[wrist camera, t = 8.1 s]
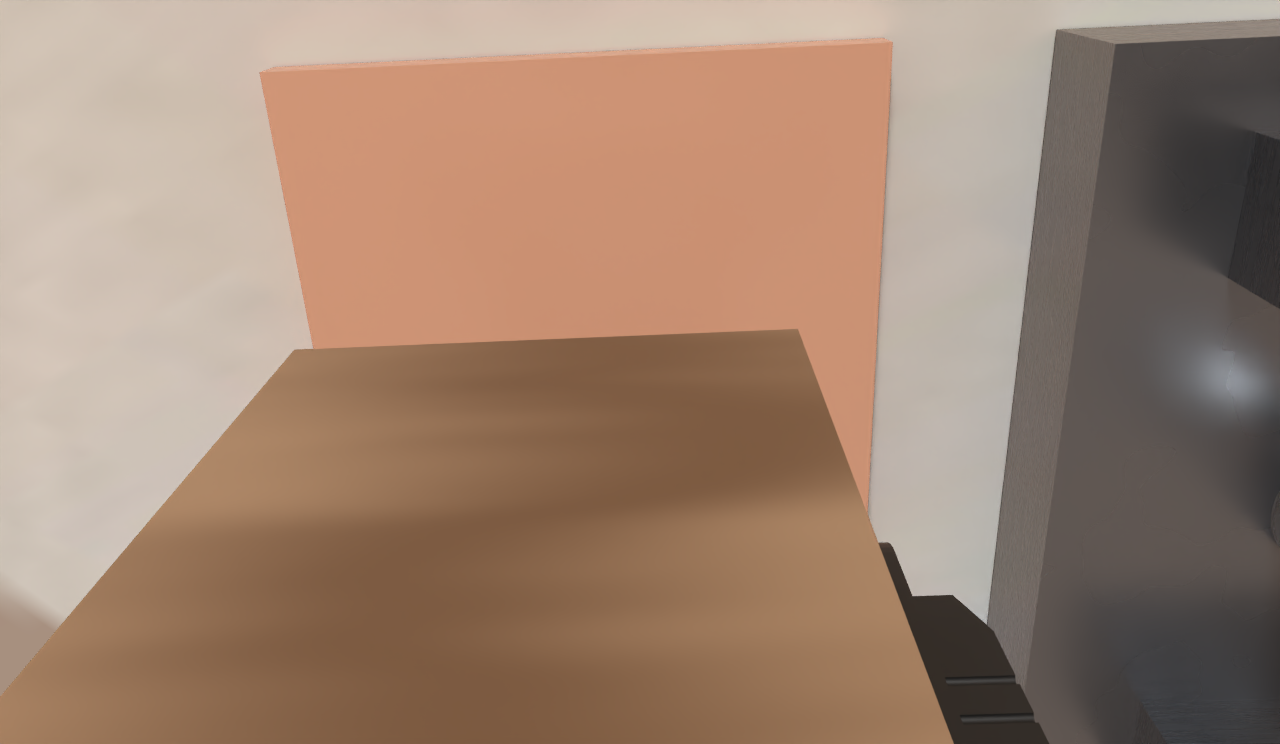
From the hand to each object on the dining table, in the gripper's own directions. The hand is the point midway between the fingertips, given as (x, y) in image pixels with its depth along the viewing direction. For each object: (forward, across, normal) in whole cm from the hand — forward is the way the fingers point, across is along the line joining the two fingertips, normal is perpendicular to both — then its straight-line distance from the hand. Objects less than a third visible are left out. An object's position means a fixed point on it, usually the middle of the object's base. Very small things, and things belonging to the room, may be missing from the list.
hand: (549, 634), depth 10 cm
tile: (+8, 0, 0) cm, 8 cm away
